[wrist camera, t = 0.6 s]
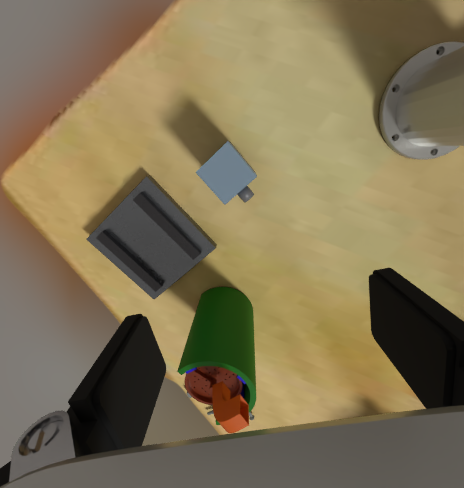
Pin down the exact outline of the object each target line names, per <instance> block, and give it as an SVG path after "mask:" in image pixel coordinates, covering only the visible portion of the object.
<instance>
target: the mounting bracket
mask: <svg viewBox="0 0 464 488" xmlns="http://www.w3.org/2000/svg"><path fill="white" fill-rule="evenodd" d="M87 240H88V241H89V242H90V243H91V244H92V245H93V246H94V247H96V248H97V249H98V250H99V251H100V252H101V253H102V254H103V255H105V256H106V257H107V258H108V259H109V260H110V261H111V262H112V263H114V264H115V265H116V266H117V267H118V268H119V269H120V270H121V271H122V272H124V273H125V274H126V275H127V276H128V277H129V278H130V279H131V280H133V281H134V282H135V283H136V284H137V285H138V286H139V287H140V288H142V289H143V290H144V291H145V292H146V293H147V294H148V295H149V296H151V297H152V298H153V299H155V298H157V297H158V296H159V295H160V294H161V293H163V292H164V291H165V290H166V289H167V288H169V287H170V286H171V285H172V284H173V283H175V282H176V281H177V280H178V279H179V278H181V277H182V276H183V275H184V274H185V273H187V272H188V271H189V270H190V269H191V268H193V267H194V266H195V265H196V264H197V263H198V262H200V261H201V260H202V259H203V258H204V257H206V256H207V255H208V254H209V253H210V252H212V251H213V250H214V249H215V248H216V245H217V244H216V243H215V242H214V241H213V240H212V239H211V238H210V237H209V236H208V235H207V234H206V233H205V232H204V231H203V230H202V229H201V228H200V227H199V226H198V225H197V224H196V223H195V222H194V220H193V219H192V218H191V217H190V216H189V215H188V214H187V213H186V212H185V211H184V210H183V209H182V208H181V207H180V206H179V205H178V204H177V203H176V202H175V201H174V200H173V199H172V198H171V196H170V195H169V194H168V193H167V192H166V191H165V190H164V189H163V188H162V187H161V186H160V185H159V184H158V183H157V182H156V181H155V180H154V179H153V178H152V177H151V176H146V177H145V179H144V180H143V181H142V182H141V183H140V184H139V185H138V186H137V187H136V188H135V189H134V190H133V191H132V192H131V193H130V194H129V195H128V196H127V197H126V198H125V199H124V200H123V201H122V202H121V204H120V205H119V206H118V207H117V208H116V209H115V210H114V211H113V212H112V213H111V214H110V215H109V216H108V217H107V218H106V219H105V220H104V221H103V222H102V223H101V224H100V225H99V226H98V228H97V229H96V230H95V231H94V232H93V233H92V234H91V235H90V236H89V237H88V238H87Z"/></svg>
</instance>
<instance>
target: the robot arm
mask: <svg viewBox="0 0 464 488" xmlns="http://www.w3.org/2000/svg"><path fill="white" fill-rule="evenodd" d="M436 52H437V53H436ZM392 88H393V89H394V91H392ZM379 122H380V129H381V132H382V135H383V138H384V139H385V141H386V143H387V144H388V145H389V147H390V148H391V149H392V150H393V151H395V152H396V153H398V154H399V155H401V156H404V157H407V158H412V159H433V158H437V157H440V156H443V155H446V154H448V153H449V152H451V151H453V150H455V149H457V148H458V147H459V146H464V43H463V42H456V41H453V42H443V43H439V44H436V45H433V46H430V47H428V48H426V49H424V50H422V51H421V52H419V53H417V54H416V55H414V56H413V57H411V58H410V59H409V60H408V61H406V62H405V63H404V64H403V65H402V66H401V67H400V68H399V69H398V71H397V72H396V73H395V74H394V75H393V77H392V79H391V80H390V82H389V83H388V85H387V87H386V90H385V92H384V94H383V97H382V101H381V105H380V112H379ZM392 136H393V139H392ZM430 152H431V153H430ZM369 293H370V314H371V331H372V335H373V337H374V339H375V340H376V342H377V343H378V344H379V346H380V347H381V349H382V350H383V351H384V353H385V354H386V355H387V357H388V358H389V359H390V361H391V362H392V363H393V365H394V366H395V367H396V369H397V370H398V371H399V373H400V374H401V375H402V377H403V378H404V379H405V381H406V382H407V383H408V385H409V386H410V387H411V389H412V390H413V392H414V393H415V394H416V396H417V397H418V398H419V400H420V401H421V402H422V404H423V405H424V406H425V408H426V409H422V410H412V411H403V412H394V413H386V414H379V415H371V416H363V417H355V418H347V419H339V420H331V421H323V422H316V423H308V424H300V425H293V426H285V427H278V428H270V429H263V430H255V431H248V432H240V433H233V434H225V435H218V436H212V437H204V438H197V439H189V440H183V441H175V442H168V443H161V444H153V445H146V446H142V443H143V440H144V437H145V434H146V431H147V428H148V425H149V422H150V419H151V416H152V413H153V410H154V407H155V404H156V401H157V397H158V395H159V392H160V388H161V385H162V382H163V379H164V376H165V373H166V364H165V361H164V359H163V356H162V354H161V351H160V349H159V346H158V344H157V341H156V339H155V336H154V334H153V331H152V329H151V326H150V324H149V321H148V319H147V317H145V316H144V317H143V315H142V314H136V315H131V316H127V317H126V318H125V319H124V321H123V322H122V324H121V325H120V326H119V328H118V330H117V331H116V332H115V334H114V335H113V337H112V338H111V340H110V341H109V343H108V344H107V345H106V347H105V348H104V350H103V351H102V353H101V354H100V356H99V357H98V359H97V360H96V361H95V363H94V364H93V366H92V367H91V369H90V370H89V372H88V373H87V375H86V376H85V378H84V379H83V380H82V382H81V383H80V385H79V386H78V388H77V389H76V391H75V392H74V394H73V395H72V397H71V398H70V399H69V401H68V403H69V405H70V408H69V409H68V411H67V412H65V411H55V412H52V413H49V414H47V415H45V416H44V417H42V418H41V419H39V420H38V421H36V422H35V423H34V424H32V425H31V426H30V427H29V428H28V429H27V430H26V431H25V432H24V433H23V434H22V435H21V437H20V438H19V439H18V441H17V442H16V444H15V446H14V448H13V451H12V456H11V461H10V462H9V463H7V464H6V465H4V466H3V467H2V468H0V488H464V321H462V320H461V319H459V318H458V317H457V316H455V315H454V314H453V313H451V312H450V311H449V310H447V309H446V308H445V307H443V306H442V305H440V304H439V303H438V302H436V301H435V300H434V299H432V298H431V297H430V296H428V295H427V294H426V293H424V292H423V291H421V290H420V289H419V288H417V287H416V286H415V285H413V284H412V283H411V282H409V281H408V280H407V279H405V278H404V277H402V276H401V275H400V274H398V273H397V272H396V271H394V270H393V269H391V268H385V269H380V270H374V271H373V275H370V276H369Z"/></svg>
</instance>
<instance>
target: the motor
mask: <svg viewBox="0 0 464 488" xmlns="http://www.w3.org/2000/svg"><path fill="white" fill-rule="evenodd" d="M177 372H179V373H180V374H181V375H182V374H183V373H185V372H186V377H185V387H186V390H187V391H188V393H189V394H190V395H191V396H192V397H193V398H194V399H196V400H197V401H199V402H202V403H204V404H208V405H213V412H214V416H215V418H216V425H221V426H222V427H223V428H224V429H225V430H226V431H227V432H228V433H234V432H237V431H239V430H241V429H243V428H245V427H246V426H248V425H249V413H250V411H251V410H252V409H253V407H254V405H255V402H256V376H255V349H254V321H253V307H252V304H251V302H250V301H249V299H248V298H247V297H246V296H245V295H244V294H243V293H241V292H240V291H238V290H236V289H233V288H229V287H216V288H212V289H209V290H207V291H206V292H204V293H203V294H202V295H201V298H200V301H199V304H198V307H197V310H196V314H195V317H194V320H193V323H192V326H191V330H190V333H189V336H188V339H187V342H186V346H185V349H184V352H183V355H182V358H181V362H180V365H179V368H178V371H177Z"/></svg>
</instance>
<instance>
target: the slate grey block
mask: <svg viewBox="0 0 464 488" xmlns="http://www.w3.org/2000/svg"><path fill="white" fill-rule="evenodd" d="M196 173H197V175H198V176H199V177H200V178H201V179H202V180H203V181H204V182H205V183H206V185H207V186H208V187H209V188H210V189H211V190H212V191H213V192H214V193H215V194H216V196H217V197H218V198H219V199H220V200H221V201H222V202H223V203H224V204H226V203H228V202H229V201H230V200H231V199H232V198H233V197H234V196H236V195H238V196H239V197H240V198H241V199H242V200H243V201H244V203H245V202H247V201H248V200H249V199H250V198H251V197H252V196H253V195H254V193H253V192H252V191H251V190H250V189H249V187H248V186H247V185H248V184H249V183H250V182H251V181H252V180H254V179H255V178H256V177H257V175H256V173H255V171H254V170H253V169H252V168H251V167H250V165H249V164H248V163H247V162H246V161H245V159H244V158H243V157H242V156H241V154H240V153H239V152H238V151H237V150H236V148H235V147H234V146H233V145H232V144H231V143H230V142H229V141H227V142H226V143H225V144H224V145H223V146H222V147H221V148H220V149H219V150H218V151H217V152H216V153H215V154H214V155H213V156H212V157H211V158H210V159H209V160H208V161H207V162H206V163H205V164H204V165H203V166H202V167H201V168H200V169H199V170H198V171H197V172H196Z"/></svg>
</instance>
